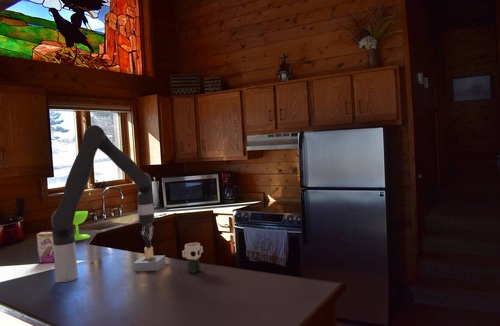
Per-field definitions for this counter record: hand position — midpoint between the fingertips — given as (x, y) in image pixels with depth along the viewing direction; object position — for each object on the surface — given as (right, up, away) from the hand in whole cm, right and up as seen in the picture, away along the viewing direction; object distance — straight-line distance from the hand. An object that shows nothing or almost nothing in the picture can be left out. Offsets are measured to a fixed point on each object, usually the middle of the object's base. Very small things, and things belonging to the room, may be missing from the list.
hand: (148, 247), depth 198 cm
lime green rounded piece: (-72, -12, +84) cm, 111 cm away
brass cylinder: (+1, -10, 0) cm, 10 cm away
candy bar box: (-61, -13, +24) cm, 67 cm away
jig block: (+1, -10, 0) cm, 10 cm away
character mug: (+24, -9, -12) cm, 29 cm away
